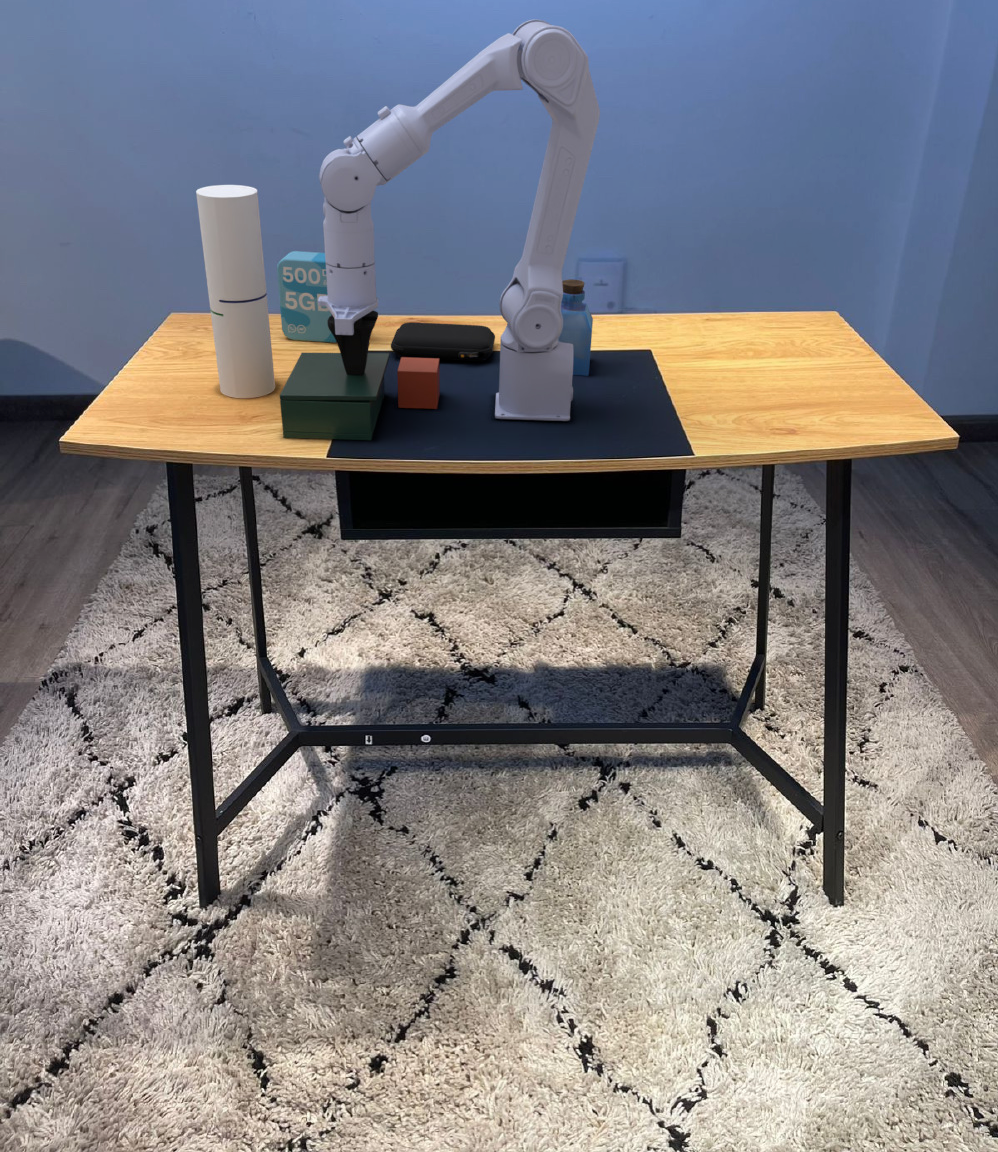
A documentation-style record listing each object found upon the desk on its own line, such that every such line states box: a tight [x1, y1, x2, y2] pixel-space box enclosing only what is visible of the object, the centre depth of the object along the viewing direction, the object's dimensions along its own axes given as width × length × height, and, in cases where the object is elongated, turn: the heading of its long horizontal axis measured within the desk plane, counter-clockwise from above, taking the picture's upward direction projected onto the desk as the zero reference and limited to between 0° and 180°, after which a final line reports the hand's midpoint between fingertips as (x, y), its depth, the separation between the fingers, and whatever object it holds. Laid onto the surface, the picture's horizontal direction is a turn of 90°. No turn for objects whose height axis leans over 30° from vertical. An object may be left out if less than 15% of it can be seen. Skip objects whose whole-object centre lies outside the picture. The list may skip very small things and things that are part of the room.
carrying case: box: [390, 322, 496, 362], centre depth 148 cm, size 11×3×15 cm
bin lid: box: [279, 352, 391, 401], centre depth 126 cm, size 11×15×1 cm
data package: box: [276, 250, 337, 344], centre depth 150 cm, size 12×4×12 cm, turn 82°
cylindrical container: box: [195, 184, 276, 399], centre depth 129 cm, size 7×7×25 cm
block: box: [396, 357, 441, 410], centre depth 132 cm, size 5×5×5 cm
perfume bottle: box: [558, 278, 594, 377], centre depth 143 cm, size 6×6×12 cm
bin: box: [279, 377, 386, 441], centre depth 127 cm, size 11×15×5 cm
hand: (355, 373), depth 126 cm, fingers closed, pressing on bin lid
